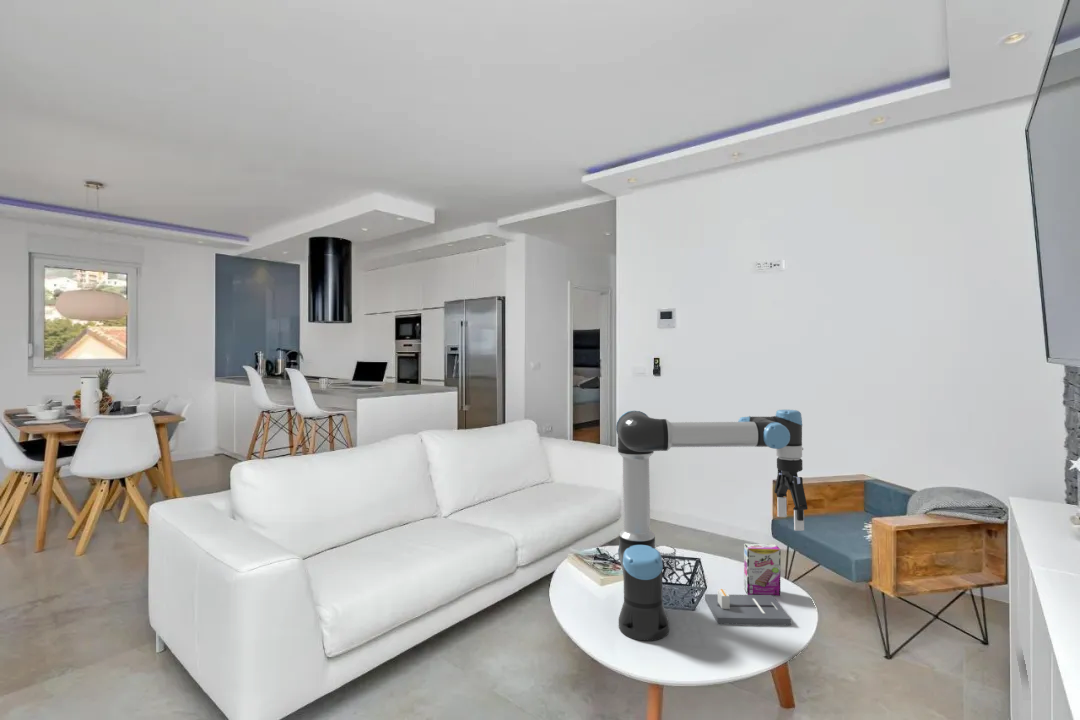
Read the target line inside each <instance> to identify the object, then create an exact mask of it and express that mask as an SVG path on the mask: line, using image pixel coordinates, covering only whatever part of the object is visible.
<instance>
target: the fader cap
mask: <svg viewBox="0 0 1080 720" xmlns="http://www.w3.org/2000/svg"><path fill="white" fill-rule="evenodd" d="M717 594H718V603H719V604H720V606H721V608H722V609H730V598H729V595H730V594H729V593H728V592H727V590H726V589H724V588H717Z"/></svg>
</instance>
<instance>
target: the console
mask: <svg viewBox="0 0 1080 720" xmlns="http://www.w3.org/2000/svg"><path fill="white" fill-rule="evenodd" d="M728 595H729V598H730V609H722V608H721V606H720V604H719V603H718V593H715V594H712V593H711V594H710V593H709V594H707V593H705V594H704V601H705V603H706V604H707V605H706V606H707V607H708V608H709V611H710V612H711V614H712V616H713V618H714V620H715V621H716V623H717V625H741V626H742V625H747V626H748V625H749V626H751V625H752V626H792V618H791V617H790V615H789V614H788V613H787V612H786V611H785V610H784V608H783V607H782V606H781V605H780V603H779V602H778V601H777V600H776V599H775V596H772V595H748V594H728Z"/></svg>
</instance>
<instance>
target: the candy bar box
mask: <svg viewBox="0 0 1080 720" xmlns="http://www.w3.org/2000/svg"><path fill="white" fill-rule="evenodd" d="M743 589H744V591H745V593H746V595H772V596H773V597H775V596H776V597H778V596H779V597H780V596H781V548H780V547H779V546H778V545H777V544H769V543H767V544H766V543H743Z"/></svg>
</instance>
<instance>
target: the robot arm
mask: <svg viewBox="0 0 1080 720" xmlns="http://www.w3.org/2000/svg"><path fill="white" fill-rule="evenodd" d="M615 426H616V427H615V430H616V434H617V453H618V454H619V455H620V457H622V487H623V488H622V489H623V491H622V492H623V494H622V497H623V499H622V500H623V501H622V502H623V528H622V530H620V532H619V535H618V536H619V537H618V539H619V545H618V549H617V554H618V559H619V562H620V566H621V572H622V576H623V602H622V603H623V604H622V607H621V610H620V612H619V616H618V629H619V631H620V632H621V633H622V634H623V635H624V636H626V637H629V638H631V639H634V640H638V641H644V642H646V641H647V642H648V641H649V642H650V641H652V642H653V641H657V640H661V639H664V638H665V637H666V636H667V635H669V632H670V622H669V619H668V615H667V612H666V610H665V607H664V606H665V605H664V603H663V596H664V595H663V568H664V564H663V559H662V558H663V557H662V555H661V553H660V551H659V550H658V549H656V534H655V532H653V531H652V530H651V505H650V503H651V500H650V499H651V497H650V496H651V495H650V494H651V493H650V492H651V491H650V488H651V487H650V458H651V456H652V455H653V454H654V452H662V451H663V452H666V451H667V452H668V451H669V450H670V449H671V448H726V447H727V448H735V447H739V448H741V447H743V448H744V447H746V448H748V447H750V448H751V447H754V448H757V447H758V448H760V447H761V448H762V447H764V448H766V447H767V448H771V449H775V451H776V456H777V458H776V469H777V477H776V481H775V486H774V494H775V495H776V499H777V501H776V502H777V505H776V506H777V509H776V510H777V517H778V518H787V517H788V515H787V513H788V512H787V511H788V510H787V509H788V508H787V497H788V496H787V492H788V490H789V491H790V495H791V498H792V500H793V501H792V502H793V504H794V505H793V506H794V507H793V523H794V524H793V530H794V531H795V532H796V531H798V532H799V531H801V532H802V531H805V510H806V511H807V510H809V509H808V508H809V507H808V504H807V503H808V502H807V498H806V494H805V488H804V483H803V482H804V479H803V477H802V476H798V472H802V470H803V459H802V457H803V451H804V447H803V417H802V412H800V411H799V410H796V409H777V411H776V412H775V415H774V416H750V415H749V416H742V417H739V419H738V421H695V422H693V421H690V422H689V421H688V422H687V421H685V422H684V421H682V422H680V421H678V422H674V421H673V422H672V421H671V422H670V421H669V420H668V419H667V418H654V417H649V416H648V414H646V413H644V412H643V411H640V410H630V411H626V412H624V413H622V414H621V416H620V417H619V418H618V419H617V422H616V425H615Z"/></svg>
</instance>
